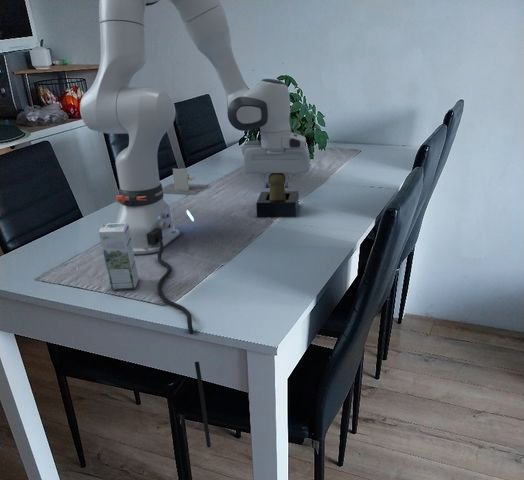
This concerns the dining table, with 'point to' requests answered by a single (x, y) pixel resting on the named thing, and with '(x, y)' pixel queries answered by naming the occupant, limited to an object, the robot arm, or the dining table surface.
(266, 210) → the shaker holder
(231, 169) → the dining table surface
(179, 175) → the architectural model
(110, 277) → the syrup box
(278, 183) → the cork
